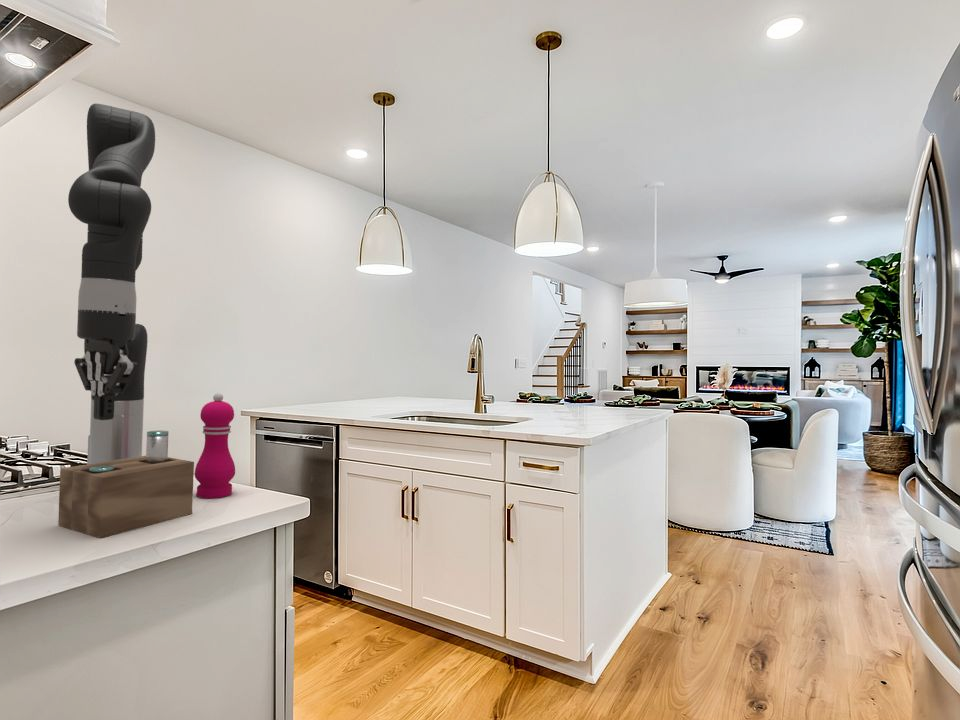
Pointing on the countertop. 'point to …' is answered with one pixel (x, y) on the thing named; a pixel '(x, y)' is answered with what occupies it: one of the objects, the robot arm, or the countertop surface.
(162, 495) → the walnut block
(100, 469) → the front peg
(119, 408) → the robot arm
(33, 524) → the countertop surface
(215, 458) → the pepper mill
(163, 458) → the rear peg
